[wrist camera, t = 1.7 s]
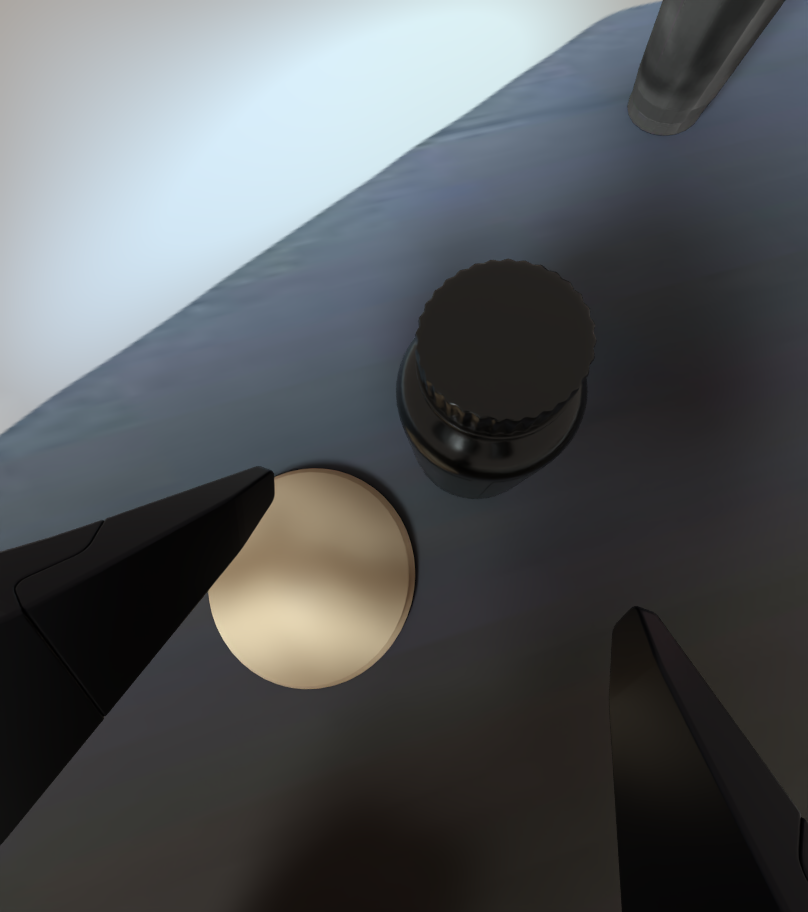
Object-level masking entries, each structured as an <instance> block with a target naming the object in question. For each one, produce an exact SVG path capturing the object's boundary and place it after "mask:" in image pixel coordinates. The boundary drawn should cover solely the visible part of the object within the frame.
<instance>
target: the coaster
mask: <svg viewBox="0 0 808 912" xmlns="http://www.w3.org/2000/svg"><path fill="white" fill-rule="evenodd" d="M274 482H275V496H274V500H273V502H272V504H271V505H270V507H269V508H268V510H267V511H266V513H265V514H264V516H263V518H262V519H261V521H260V522H259V524H258V525H257V527H256V528H255V530H254V531H253V533H252V534H251V536H250V538H249V539H248V541H247V542H246V544H245V545H244V547H243V548H242V549H241V551H240V552H239V553H238V555H237V556H236V557H235V558H234V560H233V561H232V562H231V563H230V565H229V566H228V567H227V568H226V570H225V571H224V572H223V573H222V574H221V576H220V577H219V578H218V579H217V581H216V582H215V583H214V584H213V585H212V587H211V588H210V589H209V590H208V592H209V602H210V606H211V611H212V615H213V618H214V621H215V623H216V626H217V628H218V630H219V632H220V634H221V636H222V638H223V640H224V642H225V643H226V644H227V646H228V647H229V649H230V650H231V652H232V653H233V654H234V655H235V656H236V657H237V658H238V659H239V660H240V662H241V663H243V664H244V665H245V666H246V667H247V668H249V669H250V670H251V671H252V672H254V673H256V674H257V675H259V676H261V677H262V678H264V679H266V680H269V681H271V682H273V683H276V684H279V685H283V686H286V687H290V688H299V689H318V688H324V687H329V686H334V685H337V684H340V683H342V682H345V681H348V680H350V679H352V678H354V677H356V676H357V675H359V674H361V673H362V672H364V671H365V670H367V669H368V668H369V667H371V666H372V665H373V664H374V663H375V662H377V661H378V660H379V659H380V658H381V657H382V656H383V655H384V654H385V652H386V651H387V650H388V649H389V648H390V646H391V645H392V644H393V642H394V641H395V639H396V638H397V636H398V634H399V633H400V631H401V629H402V627H403V625H404V623H405V620H406V618H407V616H408V612H409V609H410V606H411V603H412V598H413V593H414V587H415V563H414V555H413V550H412V545H411V542H410V539H409V536H408V533H407V530H406V528H405V526H404V524H403V522H402V520H401V518H400V517H399V515H398V514H397V512H396V511H395V509H394V508H393V506H392V505H391V504H390V503H389V502H388V501H387V500H386V498H385V497H384V496H383V495H381V494H380V493H379V492H378V491H377V490H376V489H375V488H373V487H372V486H370V485H368V484H367V483H365V482H364V481H362V480H360V479H358V478H356V477H354V476H352V475H349V474H346V473H343V472H340V471H336V470H330V469H319V468H310V469H300V470H295V471H291V472H287V473H284V474H282V475H279V476H276V477H274Z"/></svg>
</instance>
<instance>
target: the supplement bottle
mask: <svg viewBox="0 0 808 912" xmlns="http://www.w3.org/2000/svg"><path fill="white" fill-rule="evenodd" d="M418 322H419V328H418V330H417V332H416V334H415V338H414V340H413V341H412V342H411V344H410V345H409V347H408V349H407V351H406V353H405V355H404V357H403V359H402V362H401V364H400V368H399V372H398V376H397V383H396V400H397V407H398V412H399V416H400V420H401V422H402V425H403V428H404V430H405V433H406V435H407V438H408V440H409V442H410V445H411V447H412V449H413V452H414V454H415V457H416V459H417V461H418V463H419V465H420V467H421V468H422V470H423V472H424V473H425V474H426V476H427V477H428V478H429V479H430V480H431V481H432V482H433V483H434V484H435V485H437V486H438V487H439V488H441V489H443V490H444V491H446V492H448V493H450V494H453V495H456V496H459V497H463V498H469V499H482V498H489V497H493V496H496V495H499V494H501V493H504V492H506V491H508V490H509V489H511V488H513V487H514V486H516V485H517V484H519V483H520V482H522V481H523V480H525V479H527V478H528V477H530V476H531V475H533V474H534V473H536V472H537V471H539V470H540V469H542V468H543V467H545V466H546V465H547V464H549V463H550V462H551V461H552V460H554V459H555V458H556V457H557V456H558V455H559V454H560V453H561V452H562V451H563V450H564V449H565V448H566V446H567V445H568V444H569V443H570V441H571V440H572V439H573V437H574V436H575V434H576V432H577V430H578V428H579V426H580V424H581V421H582V419H583V415H584V412H585V408H586V403H587V376H588V374H589V365H590V364H591V363H592V361H593V360H594V350H593V348H594V346H595V344H596V341H597V340H596V337H595V335H594V333H593V331H594V328H595V324H594V322H593V320H592V319H591V317H590V308H589V307H588V306H587V305H586V304H585V303H584V302H583V298H582V295H581V294H580V293H579V292H577V291H576V290H574V288H573V286H572V284H571V283H570V282H569V281H566V280H564V279H562V278H561V277H560V275H559V274H558V273H557V272H553V271H549V270H547V269H546V268H545V267H543V266H542V265H533V264H531V263H529V262H527V261H517V262H516V261H513V260H511V259H505V260H502V261H496V260H490V261H487V262H486V263H479V264H474V265H473V266H471V267H470V268H469V269H464V270H460V271H459V272H458V273H457V274H456V275H455V276H454V277H452V278H449V279H447V280H446V281H445V282H444V284H443V286H442V287H440V288H438V289H437V290H435V291H434V294H433V296H432V299H430V300H429V301H428V302H427V303H426V304H425V309H424V313H423V314H422V315H421V316H420V318H419V321H418Z"/></svg>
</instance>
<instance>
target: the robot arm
mask: <svg viewBox="0 0 808 912" xmlns="http://www.w3.org/2000/svg"><path fill="white" fill-rule="evenodd" d="M274 496H275V482H274V473H273V471H271V470H269V469H266V468H264V467H261V466H256V467H253V468H250V469H247V470H244V471H241V472H239V473H236V474H233V475H230V476H227V477H224V478H221V479H218V480H216V481H213V482H210V483H207V484H204V485H201V486H198V487H195V488H192V489H190V490H187V491H184V492H181V493H178V494H175V495H172V496H169V497H167V498H164V499H161V500H158V501H155V502H152V503H149V504H146V505H144V506H141V507H138V508H135V509H132V510H129V511H126V512H123V513H120V514H118V515H115V516H112V517H109V518H106V519H105V521H104V520H100V521H97V522H94V523H91V524H88V525H86V526H83V527H80V528H77V529H74V530H71V531H68V532H65V533H61V534H58V535H55V536H52V537H49V538H46V539H42V540H39V541H36V542H32V543H29V544H25V545H22V546H19V547H15V548H12V549H8V550H5V551H1V552H0V845H1V844H2V843H3V842H4V840H5V839H6V838H7V837H8V836H9V835H10V833H11V832H12V831H13V830H14V828H15V827H16V826H17V825H18V824H19V822H20V821H21V820H22V819H23V817H24V816H25V815H26V814H27V812H28V811H29V810H30V809H31V808H32V806H33V805H34V804H35V803H36V801H37V800H38V799H39V798H40V797H41V795H42V794H43V793H44V792H45V790H46V789H47V788H48V787H49V786H50V784H51V783H52V782H53V781H54V779H55V778H56V777H57V776H58V775H59V773H60V772H61V771H62V770H63V768H64V767H65V766H66V765H67V763H68V762H69V761H70V760H71V759H72V757H73V756H74V755H75V754H76V752H77V751H78V750H79V749H80V748H81V746H82V745H83V744H84V743H85V741H86V740H87V739H88V738H89V737H90V735H91V734H92V733H93V732H94V730H95V729H96V728H97V727H98V726H99V724H100V723H101V722H102V721H103V719H104V716H106V715H107V714H108V713H109V712H110V710H111V709H112V708H113V707H114V706H115V704H116V703H117V702H118V701H119V699H120V698H121V697H122V696H123V694H124V693H125V692H126V691H127V690H128V688H129V687H130V686H131V685H132V683H133V682H134V681H135V680H136V679H137V677H138V676H139V675H140V674H141V672H142V671H143V670H144V669H145V668H146V666H147V665H148V664H149V663H150V661H151V660H152V659H153V658H154V657H155V655H156V654H157V653H158V652H159V650H160V649H161V648H162V647H163V645H164V644H165V643H166V642H167V641H168V639H169V638H170V637H171V636H172V634H173V633H174V632H175V631H176V630H177V628H178V627H179V626H180V625H181V623H182V622H183V621H184V620H185V619H186V617H187V616H188V615H189V614H190V612H191V611H192V610H193V609H194V607H195V606H196V605H197V604H198V603H199V601H200V600H201V599H202V598H203V596H204V595H205V594H206V593H207V592H208V590H209V589H210V588H211V587H212V585H213V584H214V583H215V582H216V581H217V579H218V578H219V577H220V576H221V574H222V573H223V572H224V571H225V570H226V568H227V567H228V566H229V565H230V563H231V562H232V561H233V560H234V558H235V557H236V556H237V555H238V553H239V552H240V551H241V549H242V548H243V547H244V545H245V544H246V542H247V541H248V539H249V538H250V536H251V534H252V533H253V531H254V530H255V528H256V527H257V525H258V524H259V522H260V521H261V519H262V518H263V516H264V514H265V513H266V511H267V510H268V508H269V507H270V505H271V504H272V502H273V500H274ZM609 712H610V729H611V745H612V760H613V776H614V792H615V808H616V824H617V840H618V856H619V872H620V888H621V904H622V912H808V822H807V821H806V820H805V819H804V818H802V817H801V813H800V811H799V810H798V809H797V807H796V806H795V804H794V803H793V802H792V800H791V799H790V798H789V796H788V795H787V793H786V792H785V791H784V789H783V788H782V787H781V785H780V784H779V782H778V781H777V780H776V778H775V777H774V775H773V774H772V773H771V771H770V770H769V769H768V767H767V766H766V764H765V763H764V762H763V760H762V759H761V758H760V756H759V755H758V753H757V752H756V751H755V749H754V748H753V746H752V745H751V744H750V742H749V741H748V740H747V738H746V737H745V735H744V734H743V733H742V731H741V730H740V729H739V727H738V726H737V724H736V723H735V722H734V720H733V719H732V718H731V716H730V715H729V713H728V712H727V711H726V709H725V708H724V706H723V705H722V704H721V702H720V701H719V700H718V698H717V697H716V695H715V694H714V693H713V691H712V690H711V689H710V687H709V686H708V684H707V683H706V682H705V680H704V679H703V678H702V676H701V675H700V673H699V672H698V671H697V669H696V668H695V666H694V665H693V664H692V662H691V661H690V660H689V658H688V657H687V655H686V654H685V653H684V651H683V650H682V649H681V647H680V646H679V644H678V643H677V642H676V640H675V639H674V638H673V636H672V635H671V633H670V632H669V631H668V629H667V628H666V626H665V625H664V624H663V622H662V621H661V620H660V618H659V617H658V616H657V615H656V614H655V613H654V612H652V611H649V610H647V609H644V608H641V607H638V606H634V607H632V608H631V609H630V610H629V611H628V612H627V613H626V614H625V615H624V616H623V617H622V618H621V619H620V620H619V621H618V622H617V623H616V625H615V626H614V629H613V633H612V648H611V668H610V687H609Z"/></svg>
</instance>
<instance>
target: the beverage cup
mask: <svg viewBox="0 0 808 912" xmlns="http://www.w3.org/2000/svg"><path fill="white" fill-rule="evenodd" d="M784 1H785V0H663V2H662V5H661V7H660V10H659V13H658V16H657V19H656V21H655V24H654V27H653V30H652V33H651V36H650V38H649V41H648V44H647V47H646V50H645V52H644V55H643V58H642V61H641V64H640V67H639V69H638V73H637V78H636V81H635V84H634V88H633V91H632V93H631V96H630V98H629V102H628V106H627V107H628V113H629V116H630V118H631V120H632V121H633V123H634V124H635V125H637V126H638V127H639V128H640V129H641V130H644V131H646V132H649V133H651V134H656V135H673V134H677V133H680V132H683V131H685V130H687V129H688V128H689V127H691V126H692V125H693V124H694V123H695V122H696V120H697V119H698V117H699V116H700V114H701V113H702V112H703V111H704V109H705V108H706V107H707V106H708V104H709V103H710V102H711V100H713V99H714V98H715V96H716V95H717V94H718V92H719V91H720V89H721V88H722V87H723V85H724V84H725V83H726V81H727V80H728V78H729V77H730V76H731V74H732V73H733V72H734V70H735V69H736V67H737V66H738V65H739V63H740V62H741V61H742V59H743V58H744V56H745V55H746V54H747V52H748V51H749V50H750V48H751V47H752V45H753V44H754V43H755V41H756V40H757V39H758V37H759V36H760V34H761V33H762V32H763V30H764V29H765V28H766V26H767V25H768V23H769V22H770V21H771V19H772V18H773V17H774V15H775V14H776V12H777V11H778V10H779V8H780V7H781V6H782V4H783V3H784Z"/></svg>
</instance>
